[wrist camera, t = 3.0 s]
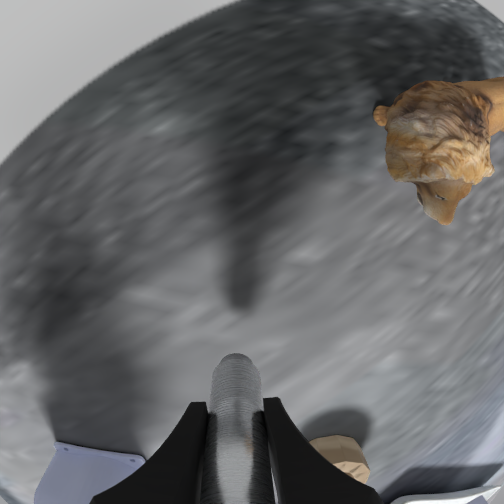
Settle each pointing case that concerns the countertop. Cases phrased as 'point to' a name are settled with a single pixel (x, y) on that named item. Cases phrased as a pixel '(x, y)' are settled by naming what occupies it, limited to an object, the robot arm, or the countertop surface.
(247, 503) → the cylindrical metal peg
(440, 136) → the lion figurine
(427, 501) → the square plate
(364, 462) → the wooden bead
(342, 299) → the countertop surface
